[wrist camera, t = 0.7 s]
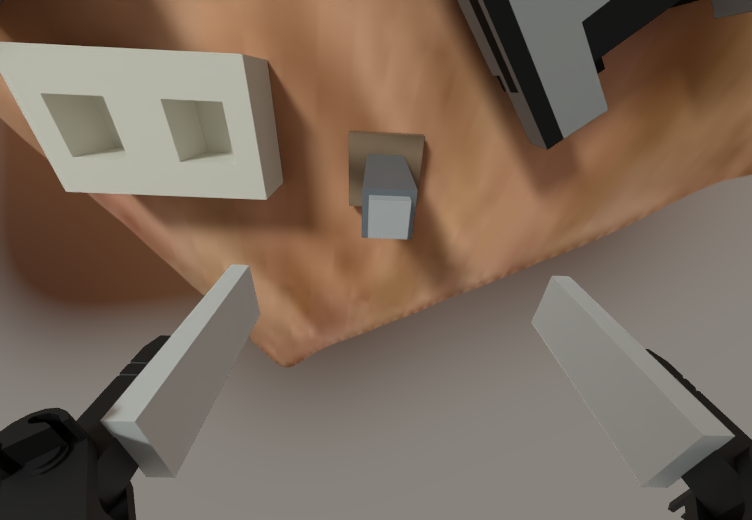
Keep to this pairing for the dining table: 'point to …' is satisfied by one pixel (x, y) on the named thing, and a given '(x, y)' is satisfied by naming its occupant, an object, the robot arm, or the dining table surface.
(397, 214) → the plug
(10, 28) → the dining table surface
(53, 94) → the socket block
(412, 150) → the plate
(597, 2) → the office tray
